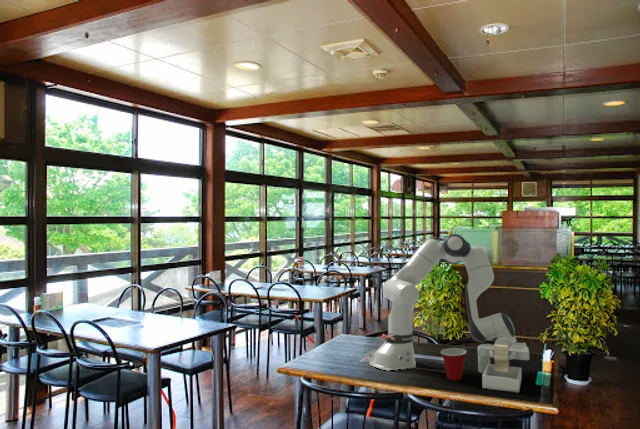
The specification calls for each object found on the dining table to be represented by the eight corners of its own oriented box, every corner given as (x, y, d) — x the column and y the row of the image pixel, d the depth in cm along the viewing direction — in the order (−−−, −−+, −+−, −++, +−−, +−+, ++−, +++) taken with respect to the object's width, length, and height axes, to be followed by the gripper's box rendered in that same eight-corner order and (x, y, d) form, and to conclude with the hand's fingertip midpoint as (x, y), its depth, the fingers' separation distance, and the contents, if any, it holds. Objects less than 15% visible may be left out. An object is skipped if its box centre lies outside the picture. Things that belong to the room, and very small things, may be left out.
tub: (518, 392, 195) (518, 379, 195) (482, 388, 201) (482, 375, 201) (521, 379, 211) (521, 367, 211) (487, 375, 217) (487, 363, 217)
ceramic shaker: (485, 373, 219) (485, 350, 220) (475, 371, 224) (475, 348, 224) (492, 371, 222) (492, 349, 222) (482, 369, 226) (482, 346, 227)
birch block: (508, 372, 199) (507, 347, 200) (494, 370, 202) (494, 345, 202) (509, 368, 204) (508, 344, 204) (496, 367, 206) (495, 343, 206)
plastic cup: (438, 374, 219) (438, 347, 219) (463, 374, 218) (463, 347, 218) (443, 382, 208) (443, 353, 208) (469, 382, 207) (469, 353, 208)
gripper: (479, 338, 219) (474, 346, 206) (529, 343, 210) (528, 351, 198) (479, 353, 219) (474, 361, 206) (530, 358, 210) (528, 367, 198)
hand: (501, 356), depth 202 cm, fingers closed on birch block, 5 cm apart
